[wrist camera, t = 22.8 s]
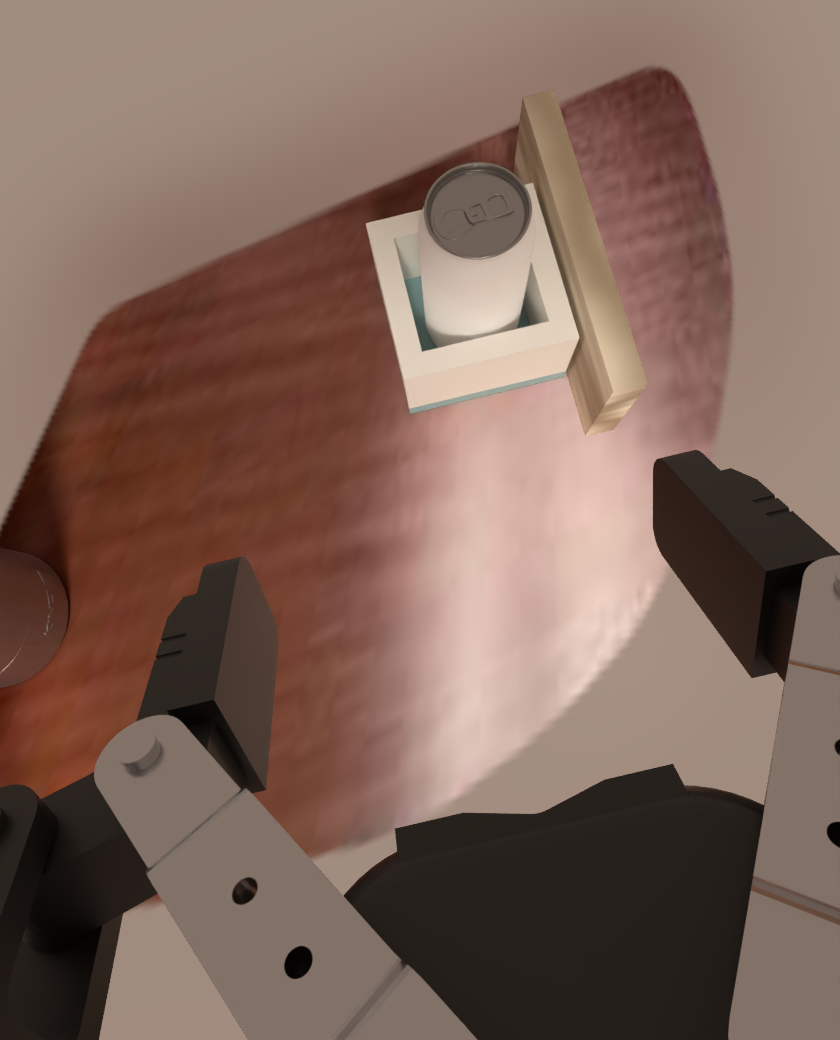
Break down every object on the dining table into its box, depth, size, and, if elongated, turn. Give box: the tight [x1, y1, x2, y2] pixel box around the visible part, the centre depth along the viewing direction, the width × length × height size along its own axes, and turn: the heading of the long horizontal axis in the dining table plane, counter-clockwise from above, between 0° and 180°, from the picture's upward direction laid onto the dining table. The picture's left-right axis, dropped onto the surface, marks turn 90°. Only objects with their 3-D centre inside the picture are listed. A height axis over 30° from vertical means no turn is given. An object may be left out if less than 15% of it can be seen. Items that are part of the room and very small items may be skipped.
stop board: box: [513, 90, 648, 436], centre depth 42 cm, size 2×20×8 cm, turn 13°
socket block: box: [366, 183, 579, 414], centre depth 44 cm, size 11×11×6 cm
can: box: [418, 162, 536, 348], centre depth 40 cm, size 6×6×12 cm
